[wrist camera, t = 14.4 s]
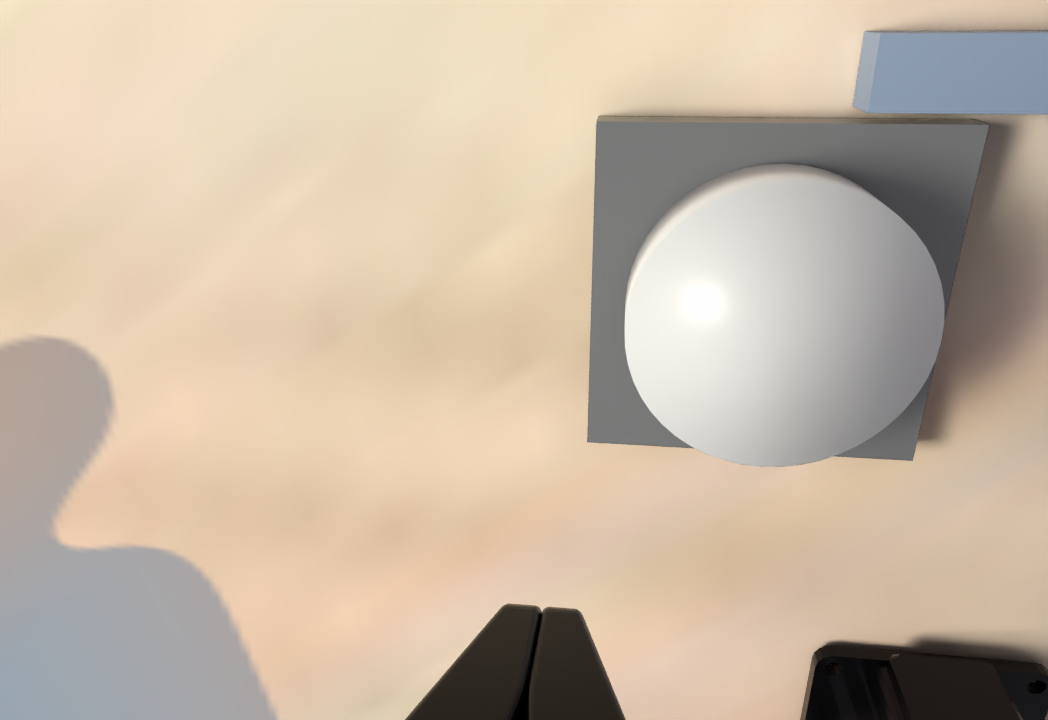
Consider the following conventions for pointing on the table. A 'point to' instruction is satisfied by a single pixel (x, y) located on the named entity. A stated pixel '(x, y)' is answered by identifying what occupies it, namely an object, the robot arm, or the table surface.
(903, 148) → the dome base
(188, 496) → the table surface
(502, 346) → the table surface
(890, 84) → the lane
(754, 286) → the dome
